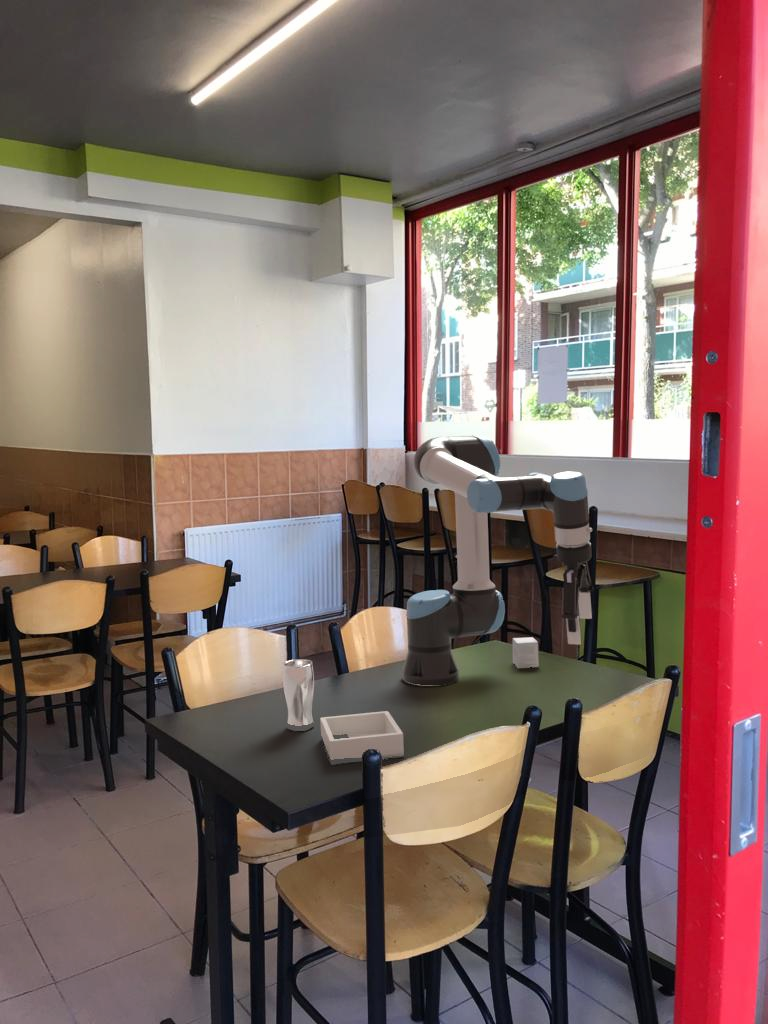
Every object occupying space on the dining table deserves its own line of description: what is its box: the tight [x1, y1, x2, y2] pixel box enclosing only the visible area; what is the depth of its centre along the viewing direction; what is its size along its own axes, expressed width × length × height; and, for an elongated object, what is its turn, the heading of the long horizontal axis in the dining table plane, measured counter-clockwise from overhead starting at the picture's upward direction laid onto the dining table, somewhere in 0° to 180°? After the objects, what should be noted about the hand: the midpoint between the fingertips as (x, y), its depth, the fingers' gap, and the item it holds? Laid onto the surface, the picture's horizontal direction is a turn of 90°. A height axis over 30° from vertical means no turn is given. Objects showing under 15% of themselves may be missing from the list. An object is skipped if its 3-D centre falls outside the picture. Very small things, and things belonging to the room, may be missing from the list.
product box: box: [511, 636, 540, 669], centre depth 238 cm, size 6×6×7 cm
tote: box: [319, 710, 405, 761], centre depth 178 cm, size 15×15×5 cm
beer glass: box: [282, 658, 315, 726], centre depth 192 cm, size 7×7×15 cm
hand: (580, 630), depth 192 cm, fingers open, 13 cm apart
